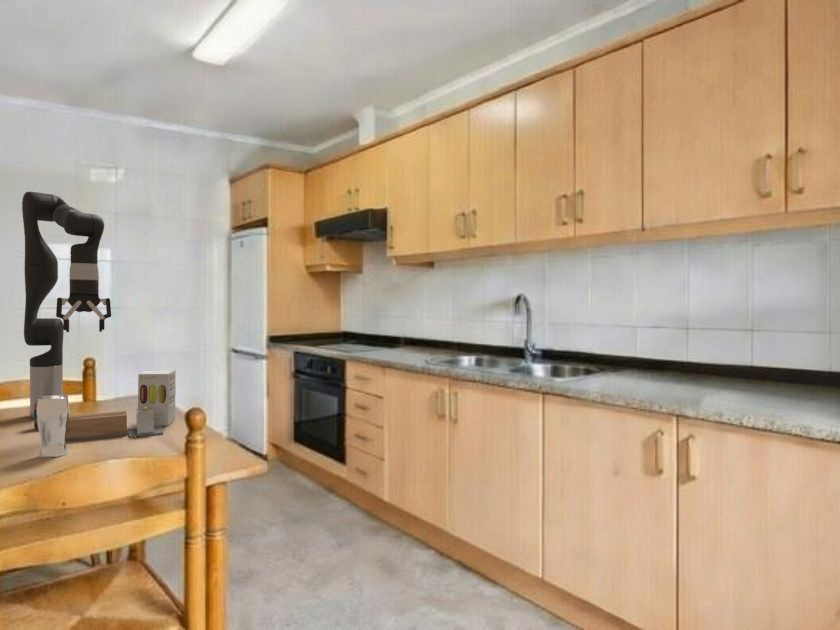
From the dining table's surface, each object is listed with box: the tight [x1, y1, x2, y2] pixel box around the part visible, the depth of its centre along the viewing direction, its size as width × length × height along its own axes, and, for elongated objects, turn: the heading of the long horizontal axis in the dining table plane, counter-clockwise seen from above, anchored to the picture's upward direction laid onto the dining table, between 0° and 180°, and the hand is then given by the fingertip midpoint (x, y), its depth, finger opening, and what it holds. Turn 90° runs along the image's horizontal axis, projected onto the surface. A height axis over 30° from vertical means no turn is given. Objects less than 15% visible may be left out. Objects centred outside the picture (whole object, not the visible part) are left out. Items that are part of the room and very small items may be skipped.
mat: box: [127, 425, 164, 438], centre depth 163 cm, size 10×9×1 cm
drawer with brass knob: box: [135, 407, 154, 434], centre depth 163 cm, size 4×8×7 cm, turn 30°
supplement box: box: [137, 369, 176, 427], centre depth 176 cm, size 10×9×17 cm
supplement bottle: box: [33, 397, 39, 430], centre depth 167 cm, size 5×5×10 cm
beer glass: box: [37, 394, 70, 459], centre depth 139 cm, size 7×7×15 cm
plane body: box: [65, 410, 129, 443], centre depth 158 cm, size 7×18×6 cm, turn 120°
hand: (84, 331), depth 165 cm, fingers open, 8 cm apart
